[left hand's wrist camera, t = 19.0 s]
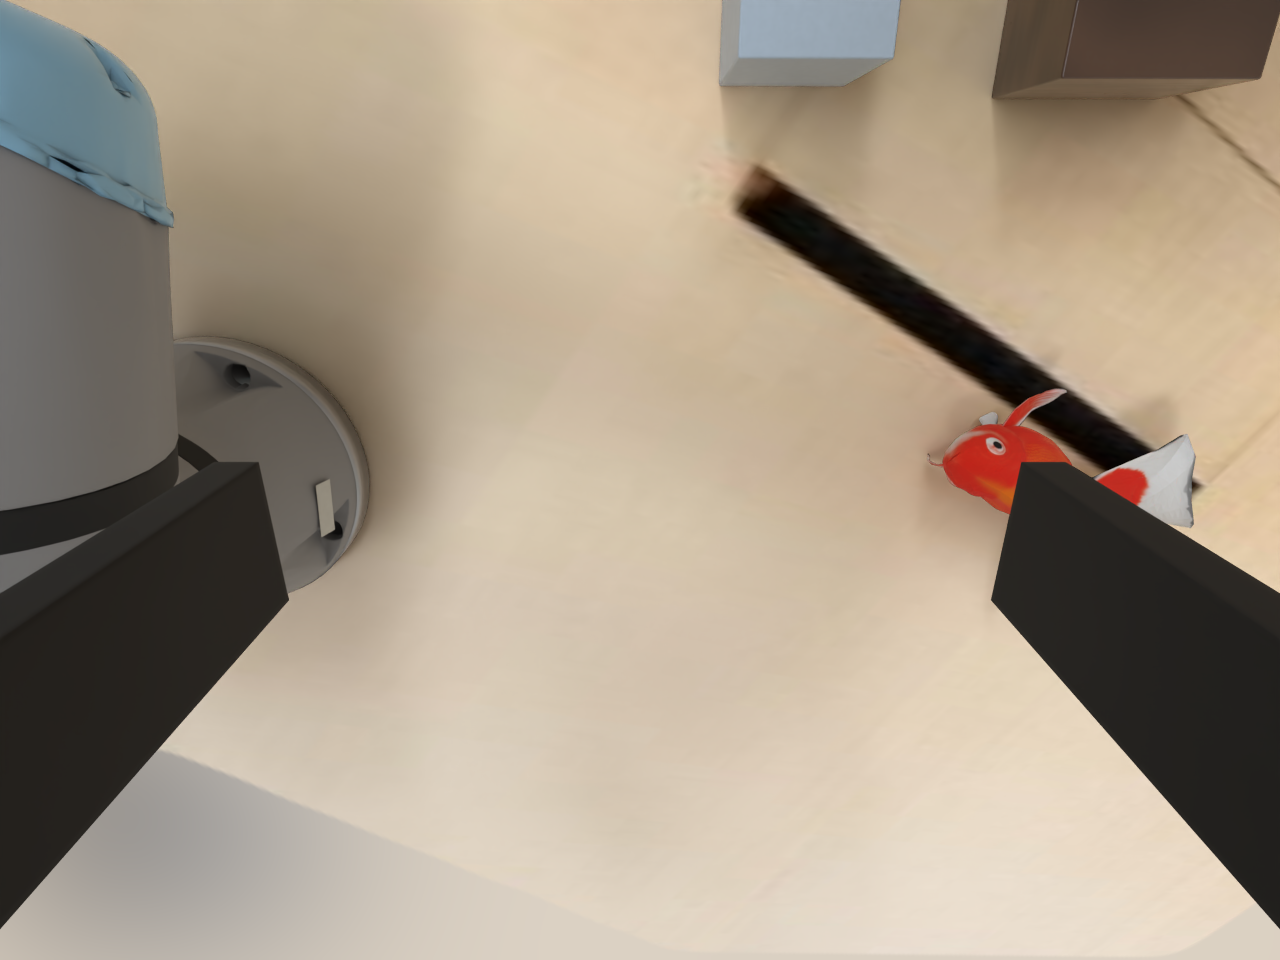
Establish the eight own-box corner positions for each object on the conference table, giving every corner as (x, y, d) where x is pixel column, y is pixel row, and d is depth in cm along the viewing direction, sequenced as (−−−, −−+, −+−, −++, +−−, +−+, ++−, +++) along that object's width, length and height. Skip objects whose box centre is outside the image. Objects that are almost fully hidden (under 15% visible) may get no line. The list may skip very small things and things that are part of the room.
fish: (1078, 281, 32) (1208, 451, 26) (1170, 417, 41) (1281, 564, 35) (875, 410, 38) (943, 572, 32) (996, 503, 47) (1066, 642, 41)
